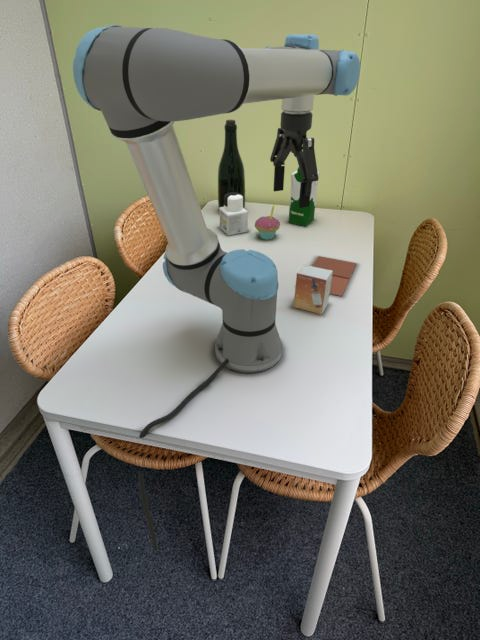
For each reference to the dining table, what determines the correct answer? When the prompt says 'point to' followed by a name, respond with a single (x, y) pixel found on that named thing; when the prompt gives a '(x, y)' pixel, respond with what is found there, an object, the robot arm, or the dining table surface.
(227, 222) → the container
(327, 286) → the small box
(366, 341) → the dining table surface
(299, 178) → the milk carton
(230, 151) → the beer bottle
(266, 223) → the cupcake
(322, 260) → the napkin
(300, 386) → the dining table surface
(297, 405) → the dining table surface
